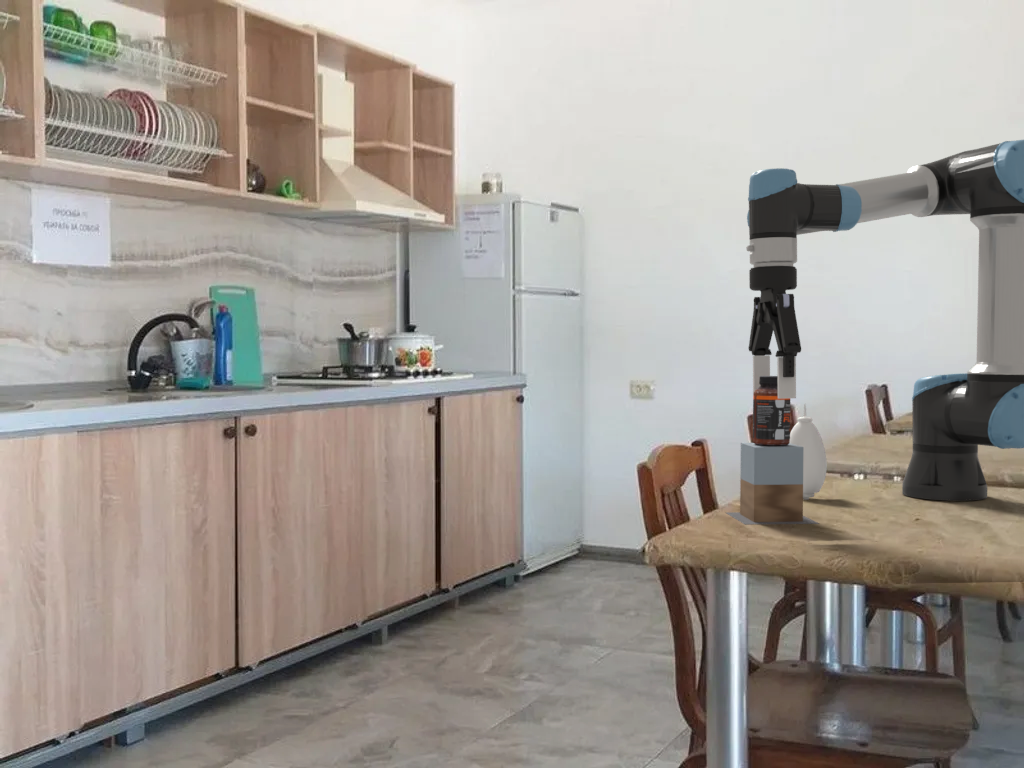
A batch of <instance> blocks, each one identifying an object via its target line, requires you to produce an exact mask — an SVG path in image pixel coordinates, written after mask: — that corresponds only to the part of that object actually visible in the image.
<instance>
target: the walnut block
mask: <svg viewBox="0 0 1024 768" xmlns="http://www.w3.org/2000/svg"><path fill="white" fill-rule="evenodd" d="M739 481H740V488H739V489H740V492H739V497H740V499H739V500H740V501H739V502H740V503H739V504H740V506H739V508H740V509H739V512H740V514H741V515H742V516H744V517H746V518H748V519H749V520H751V521H753V522H803V516H804V500H803V484H787V485H753V484H751V483H749V482H747V481H745V480H742V479H740V480H739Z"/></svg>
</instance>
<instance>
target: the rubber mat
mask: <svg viewBox="0 0 1024 768" xmlns="http://www.w3.org/2000/svg"><path fill="white" fill-rule="evenodd" d="M725 514H727V515H728V516H730V517H732V518H734V519H735V520H737V521H738V522H740V523H742V524H743V525H746V526H747V525H751V526H752V525H812V524H813V525H817V524H818V525H820V523H819V522H818V521H815V520H813V519H811V518H809V517H806V516H804V515H803V522H753V521H751V520H749V519H748V518H746V517H744V516H742V515H741V514H740V511H739V512H737V511H735V512H730V511H729V512H725Z"/></svg>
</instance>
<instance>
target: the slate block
mask: <svg viewBox="0 0 1024 768" xmlns="http://www.w3.org/2000/svg"><path fill="white" fill-rule="evenodd" d="M739 475H740V479H742V480H745V481H747V482H749V483H751V484H753V485H787V484H803V447H801V446H798V445H794V444H791V443H789V444H788V445H785V446H764V445H756V444H754V443H753V442H740V474H739Z"/></svg>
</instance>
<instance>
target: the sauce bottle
mask: <svg viewBox="0 0 1024 768" xmlns="http://www.w3.org/2000/svg"><path fill="white" fill-rule="evenodd" d="M806 405H807V404H806V403H804V404H803V416H800V417H797V422H796V424H795V425H794V426H793V427H792V429H790V443H791V444H794V445H798V446H801V447H803V501H804V500H805V501H806V500H810V498H813V497H815V494H816V493H819V492H820V491H821V489H822V487H823V486H824V482H825V480H826V477H827V469H828V467H827V454H826V448H825V445H824V442H823V439H822V437H821V434H820V432H819V430H818V428H817V427H816V425H815V424H814V423H813V422H812V421H813V418H812V417H809V416H807V406H806Z"/></svg>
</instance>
